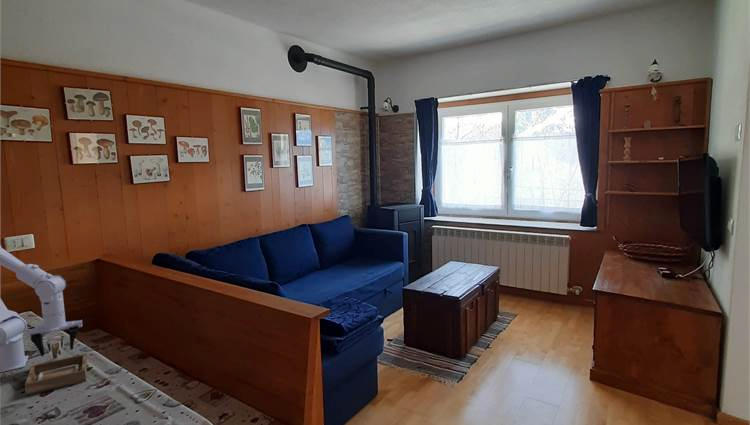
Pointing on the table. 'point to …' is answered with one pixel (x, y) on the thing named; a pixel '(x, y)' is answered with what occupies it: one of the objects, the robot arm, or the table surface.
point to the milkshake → (55, 348)
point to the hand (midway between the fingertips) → (57, 351)
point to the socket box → (56, 374)
